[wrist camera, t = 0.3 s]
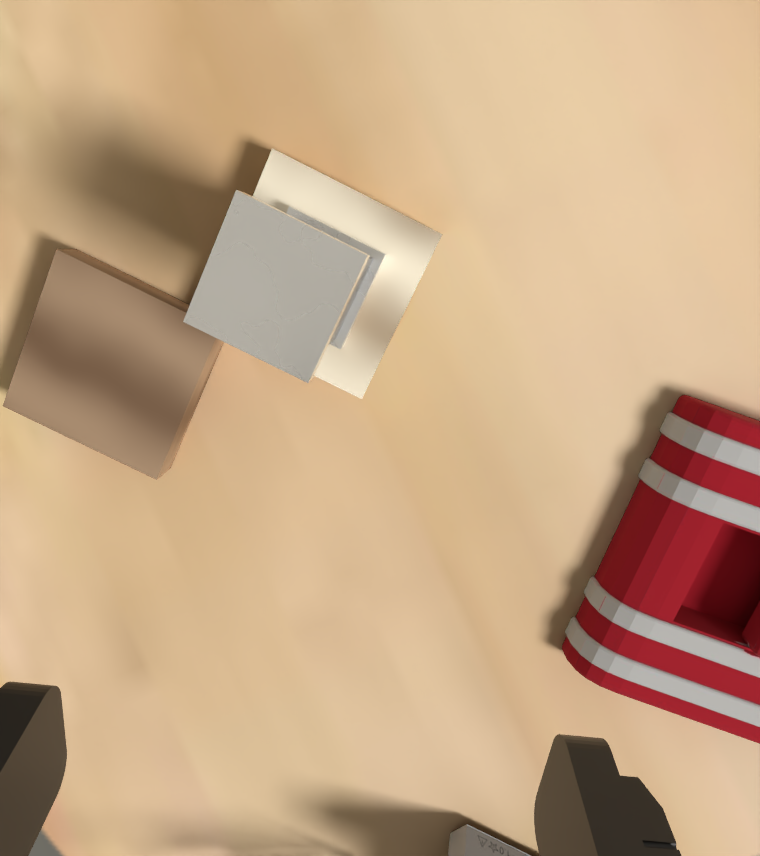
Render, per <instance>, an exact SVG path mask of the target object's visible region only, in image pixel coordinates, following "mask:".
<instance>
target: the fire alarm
mask: <svg viewBox="0 0 760 856" xmlns="http://www.w3.org/2000/svg"><path fill="white" fill-rule="evenodd" d="M660 432H661V433H662V434H661V437H660V439H659V441H658V443H657V445H656V447H655V449H654V451H653V454H652V456H651V458H647V459H646V460H645V462H644V464H643V466H642V468H641V470H640V472H639V475H638V476H639V478H640V481H639V483H638V485H637V488H636V490H635V492H634V494H633V496H632V498H631V500H630V502H629V505H628V507H627V509H626V511H625V513H624V515H623V517H622V519H621V522H620V524H619V526H618V528H617V530H616V532H615V534H614V536H613V539H612V541H611V543H610V545H609V547H608V549H607V551H606V553H605V556H604V558H603V560H602V562H601V564H600V566H599V568H598V570H597V573H596V575H595V577H594V576H592V577H590V579H589V581H588V583H587V586H586V588H585V590H584V594H585V598H584V600H583V602H582V604H581V607H580V609H579V611H578V613H577V615H576V617H572V618H571V620H570V622H569V624H568V626H567V628H566V630H565V633H566V635H567V636H566V638H565V641H564V643H563V645H562V650H563V652H564V654H565V656H566V658H567V660H568V661H569V662H570V664H571V665H572V666H573V667H574V668H575V670H576V671H578V672H579V673H580V674H581V675H583V676H584V677H585V678H587V679H588V680H590V681H592V682H594V683H595V684H597V685H599V686H601V687H604V688H606V689H608V690H611V691H613V692H616V693H618V694H621V695H624V696H627V697H630V698H632V699H635V700H638V701H641V702H644V703H647V704H649V705H652V706H655V707H658V708H661V709H664V710H666V711H669V712H672V713H675V714H678V715H681V716H683V717H686V718H689V719H692V720H695V721H697V722H700V723H703V724H706V725H709V726H712V727H714V728H717V729H720V730H723V731H726V732H729V733H731V734H734V735H737V736H740V737H743V738H746V739H748V740H751V741H754V742H757V743H760V421H758V420H755V419H753V418H750V417H747V416H744V415H741V414H739V413H736V412H733V411H730V410H727V409H724V408H722V407H719V406H716V405H713V404H710V403H708V402H705V401H702V400H699V399H696V398H693V397H691V396H688V395H682V396H681V397H679V399H678V400H677V402H676V405H675V407H674V409H673V411H672V412H669V413H667V415H666V417H665V419H664V421H663V423H662V426H661V428H660Z"/></svg>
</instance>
